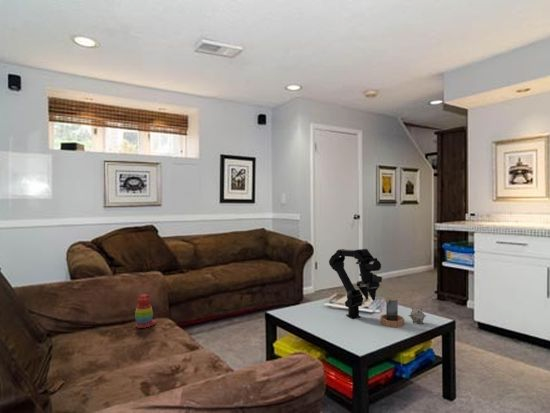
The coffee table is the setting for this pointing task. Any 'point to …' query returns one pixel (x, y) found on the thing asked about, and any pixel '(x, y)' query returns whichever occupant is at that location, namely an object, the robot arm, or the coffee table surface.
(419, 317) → the grey spiky ball
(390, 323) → the bowl
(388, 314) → the canister
